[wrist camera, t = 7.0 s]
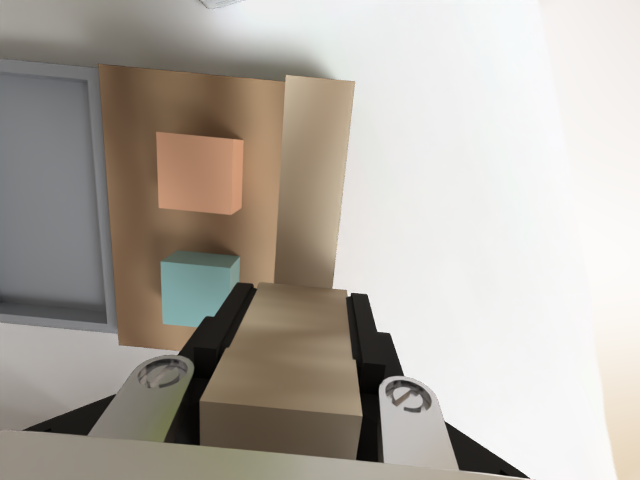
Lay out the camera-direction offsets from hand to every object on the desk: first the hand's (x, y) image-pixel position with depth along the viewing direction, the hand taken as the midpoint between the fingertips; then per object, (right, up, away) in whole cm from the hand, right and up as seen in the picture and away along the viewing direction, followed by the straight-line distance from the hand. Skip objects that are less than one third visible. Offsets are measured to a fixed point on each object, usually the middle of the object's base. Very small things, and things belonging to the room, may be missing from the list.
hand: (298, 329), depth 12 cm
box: (-21, +6, +16) cm, 27 cm away
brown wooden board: (-6, +5, +16) cm, 18 cm away
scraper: (0, +1, +3) cm, 3 cm away
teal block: (-7, 0, +13) cm, 15 cm away
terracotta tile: (-7, +8, +11) cm, 15 cm away
